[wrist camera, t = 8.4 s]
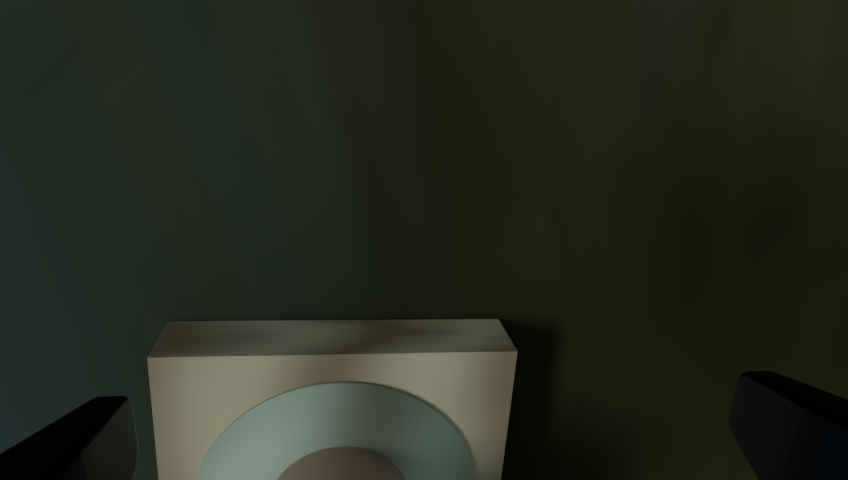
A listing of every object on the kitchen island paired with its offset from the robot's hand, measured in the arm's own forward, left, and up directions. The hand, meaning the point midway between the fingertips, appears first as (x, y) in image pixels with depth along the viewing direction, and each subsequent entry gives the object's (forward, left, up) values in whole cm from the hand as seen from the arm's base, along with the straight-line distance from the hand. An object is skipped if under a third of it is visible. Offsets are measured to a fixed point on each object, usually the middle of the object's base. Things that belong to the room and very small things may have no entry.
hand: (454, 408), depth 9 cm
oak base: (+1, +11, -13) cm, 17 cm away
